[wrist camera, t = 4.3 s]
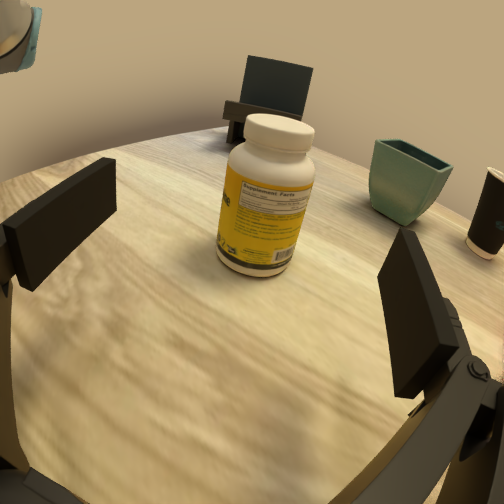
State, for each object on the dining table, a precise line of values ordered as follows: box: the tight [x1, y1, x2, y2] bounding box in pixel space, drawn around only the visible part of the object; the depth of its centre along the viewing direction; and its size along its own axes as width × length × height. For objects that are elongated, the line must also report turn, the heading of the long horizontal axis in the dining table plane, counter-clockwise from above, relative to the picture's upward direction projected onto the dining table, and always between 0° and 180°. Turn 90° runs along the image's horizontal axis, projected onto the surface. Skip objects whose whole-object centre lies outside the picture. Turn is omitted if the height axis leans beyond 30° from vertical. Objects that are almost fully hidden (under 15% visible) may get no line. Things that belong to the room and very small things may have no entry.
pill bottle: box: [216, 114, 315, 277], centre depth 23 cm, size 6×6×11 cm
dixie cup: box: [466, 167, 504, 260], centre depth 34 cm, size 8×8×11 cm
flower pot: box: [369, 139, 453, 226], centre depth 37 cm, size 9×9×9 cm
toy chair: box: [223, 55, 313, 143], centre depth 47 cm, size 11×12×15 cm
